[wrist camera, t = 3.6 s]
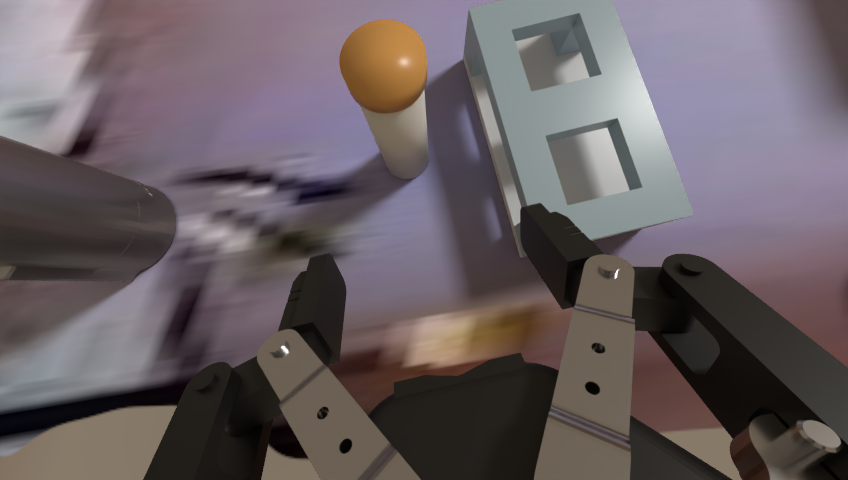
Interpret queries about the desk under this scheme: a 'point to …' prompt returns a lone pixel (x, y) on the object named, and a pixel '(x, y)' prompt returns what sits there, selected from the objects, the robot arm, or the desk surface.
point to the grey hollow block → (570, 116)
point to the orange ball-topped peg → (390, 91)
